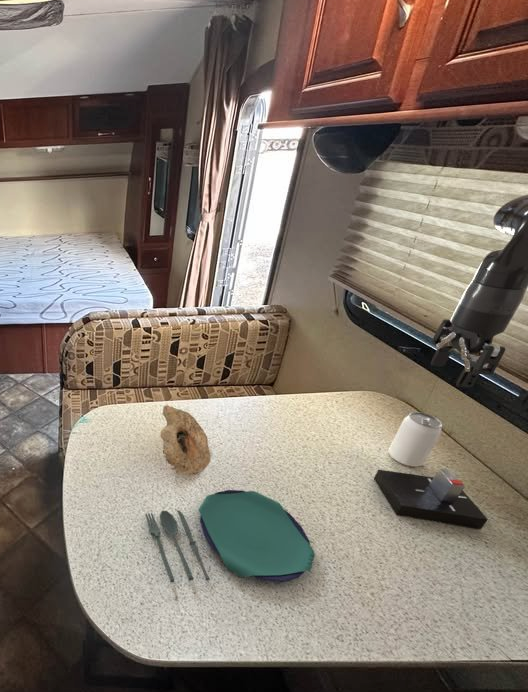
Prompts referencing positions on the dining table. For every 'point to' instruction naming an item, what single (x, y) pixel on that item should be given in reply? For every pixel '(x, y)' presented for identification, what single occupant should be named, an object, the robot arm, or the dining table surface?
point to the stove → (426, 500)
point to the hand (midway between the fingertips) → (449, 375)
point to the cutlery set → (245, 536)
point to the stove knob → (446, 485)
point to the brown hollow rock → (184, 441)
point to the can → (415, 439)
